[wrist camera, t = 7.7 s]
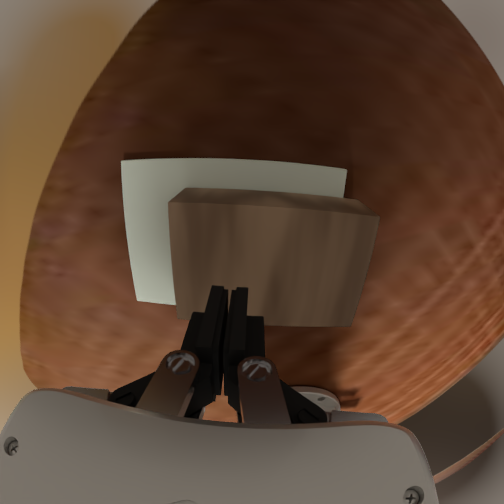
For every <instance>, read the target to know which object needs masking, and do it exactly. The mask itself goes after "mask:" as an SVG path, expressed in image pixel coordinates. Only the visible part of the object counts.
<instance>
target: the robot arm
mask: <svg viewBox="0 0 504 504" xmlns="http://www.w3.org/2000/svg"><path fill="white" fill-rule="evenodd" d="M247 305H248V287H237V288H236V290H232V292H231V298H230V305H229V312H228V289H224V286H217V285H212V286H211V290H210V294H209V297H208V301H207V305H206V308H205V312H193V313H192V315H191V318H190V321H189V325H188V328H187V331H186V334H185V337H184V340H183V344H182V347H181V350H176V351H173V352H170V353H169V354H167V355H166V356H165V357H164V358H163V360H162V361H161V363H160V365H159V367H158V368H157V370H156V372H153V373H151V374H149V375H147V376H145V377H143V378H140V379H138V380H136V381H134V382H132V383H129V384H127V385H125V386H123V387H120V388H118V389H117V390H115V391H114V392H110V391H109V390H108V389H93V388H82V387H72V386H71V387H65V388H63V389H56V388H42V389H36V390H33V391H31V392H29V393H27V394H26V395H25V396H24V397H23V398H22V399H21V400H20V402H19V403H18V405H17V406H16V407H15V409H14V410H13V412H12V413H11V415H10V417H9V419H8V420H7V422H6V424H5V426H4V428H3V430H2V432H1V434H0V504H439V502H438V497H437V493H436V488H435V484H434V480H433V477H432V474H431V470H430V467H429V464H428V461H427V459H426V456H425V454H424V451H423V449H422V448H421V445H420V443H419V441H418V440H417V438H416V437H415V435H414V434H413V433H412V432H411V431H410V430H408V429H406V428H405V427H402V426H399V425H396V424H392V423H388V421H387V420H386V418H385V417H383V416H382V415H379V414H375V413H359V412H348V411H340V404H339V400H338V398H337V397H336V396H335V395H334V394H332V393H331V392H329V391H327V390H324V389H320V388H316V387H306V386H295V387H290V386H289V385H287V384H286V383H284V382H283V381H282V380H280V379H279V376H278V372H277V369H276V366H275V364H274V363H273V362H272V361H271V360H269V359H267V358H265V341H264V316H248V315H247ZM223 373H224V395H225V396H228V404H229V405H230V406H232V407H233V408H234V409H235V410H236V417H237V423H233V422H220V421H210V420H202V418H203V415H204V412H205V406H207V405H208V404H210V403H212V402H213V401H215V399H216V395H221V389H222V381H223Z"/></svg>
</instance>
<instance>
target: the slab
mask: <svg viewBox="0 0 504 504" xmlns="http://www.w3.org/2000/svg"><path fill="white" fill-rule="evenodd" d="M168 218H169V236H170V250H171V262H172V274H173V284H174V293H175V302H176V310H177V318H178V319H185V320H190V318H191V315H192V313H193V312H205V308H206V305H207V301H208V297H209V294H210V290H211V286H212V285H217V286H224V289H228V312H229V305H230V298H231V292H232V290H236V288H237V287H248V305H247V315H248V316H264V325H268V326H300V327H350V326H351V324H352V321H353V318H354V315H355V312H356V309H357V306H358V303H359V299H360V296H361V293H362V289H363V286H364V282H365V279H366V275H367V271H368V268H369V264H370V260H371V256H372V252H373V248H374V243H375V239H376V234H377V230H378V225H379V220H380V216H378V215H377V214H376V213H375V212H373V211H372V210H371V209H369V208H368V207H367V206H365V205H364V204H363V203H361V202H360V201H359V200H357V199H348V198H340V197H331V196H321V195H311V194H300V193H288V192H275V191H260V190H242V189H220V188H185V189H183V190H182V191H181V192H180V193H178V194H177V195H176V196H175V197H174V198H172V199H171V200H170V201H169V202H168Z"/></svg>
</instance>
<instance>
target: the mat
mask: <svg viewBox="0 0 504 504" xmlns="http://www.w3.org/2000/svg"><path fill="white" fill-rule="evenodd" d="M121 174H122V191H123V205H124V216H125V225H126V234H127V242H128V249H129V256H130V263H131V269H132V275H133V281H134V287H135V292H136V297H137V301H144V302H152V303H161V304H170V305H176V302H175V293H174V284H173V274H172V262H171V250H170V236H169V218H168V202H169V201H170V200H171V199H172V198H174V197H175V196H176V195H177V194H178V193H180V192H181V191H182V190H183V189H185V188H220V189H242V190H260V191H275V192H288V193H300V194H311V195H321V196H331V197H340V198H343V196H344V189H345V182H346V174H347V170H346V169H343V168H335V167H328V166H320V165H311V164H301V163H291V162H279V161H266V160H249V159H225V158H159V159H136V160H123V161H121Z"/></svg>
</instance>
